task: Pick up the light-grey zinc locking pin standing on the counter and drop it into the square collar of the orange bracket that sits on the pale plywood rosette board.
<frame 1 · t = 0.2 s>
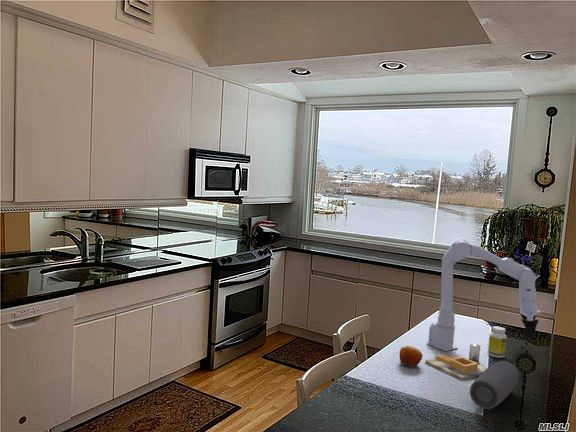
hand: (530, 334, 182), 11 cm above the table, tool pointing down, fingers open, 7 cm apart
bluetooth speaker: (493, 400, 148), on the table
fruit: (409, 365, 172), on the table
rosette board: (457, 367, 172), on the table
pill bottle: (496, 355, 188), on the table
bracket: (462, 371, 169), resting on rosette board
pin: (473, 360, 180), on the table
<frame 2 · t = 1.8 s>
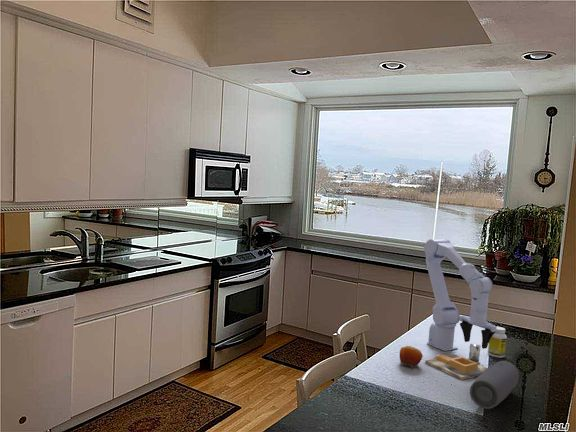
hand: (475, 344, 180), 6 cm above the table, tool pointing down, fingers open, 7 cm apart
nothing on the table moved.
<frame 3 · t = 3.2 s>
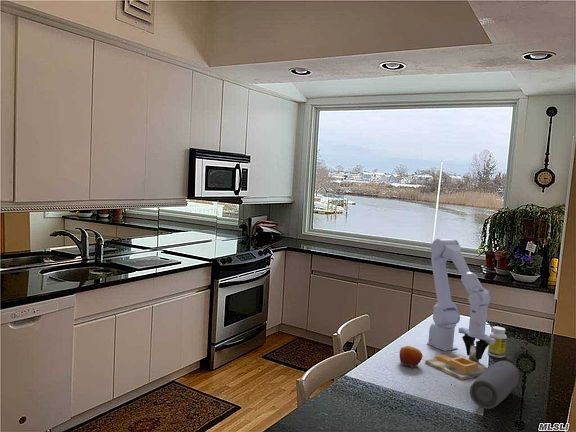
hand: (474, 356, 180), 1 cm above the table, tool pointing down, fingers closed on pin, 4 cm apart
pin: (473, 360, 180), on the table, touching gripper
everything else where it was.
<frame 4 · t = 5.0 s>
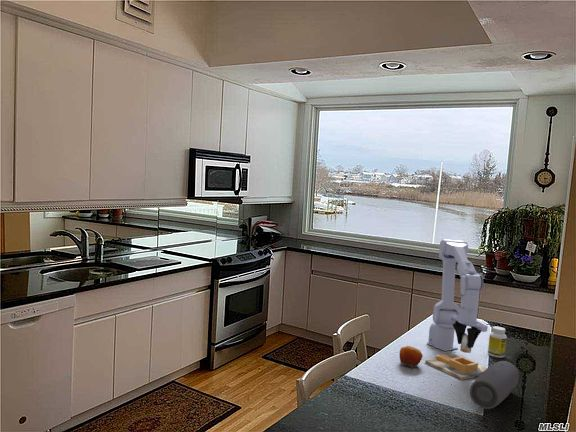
hand: (465, 345, 168), 9 cm above the table, tool pointing down, fingers closed on pin, 4 cm apart
pin: (465, 351, 169), point 7 cm above the table, touching gripper
everything else where it was.
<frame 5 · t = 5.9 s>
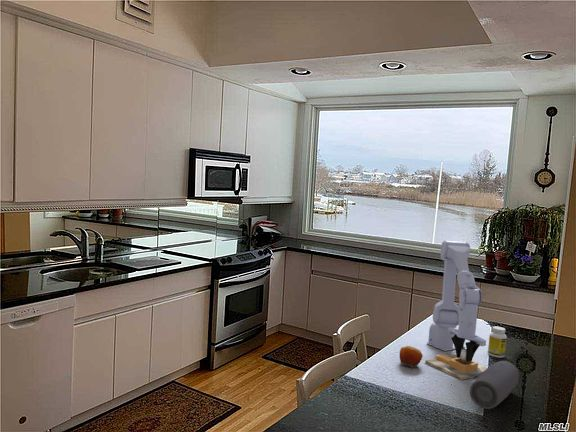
hand: (464, 359, 169), 4 cm above the table, tool pointing down, fingers closed on pin, 4 cm apart
pin: (464, 364, 169), point 2 cm above the table, touching gripper
everything else where it was.
when the fingers open (4 cm above the table, at t = 6.7 s): pin stays where it is, resting on rosette board.
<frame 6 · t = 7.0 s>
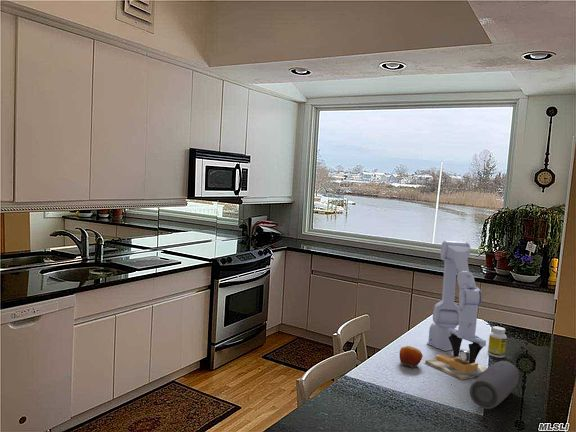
hand: (463, 359, 169), 4 cm above the table, tool pointing down, fingers open, 6 cm apart
pin: (463, 367, 169), point 1 cm above the table, touching rosette board
everything else where it was.
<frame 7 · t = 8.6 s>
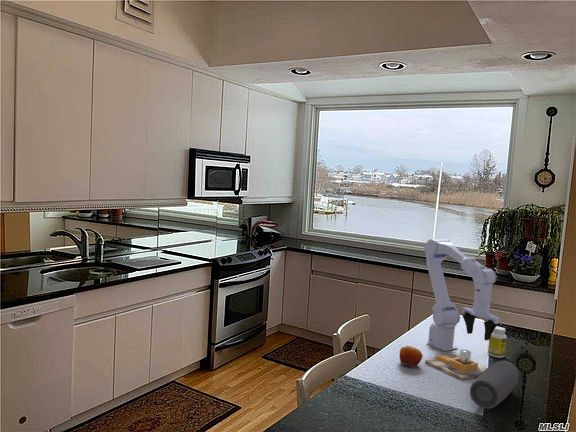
hand: (478, 336, 178), 10 cm above the table, tool pointing down, fingers open, 7 cm apart
nothing on the table moved.
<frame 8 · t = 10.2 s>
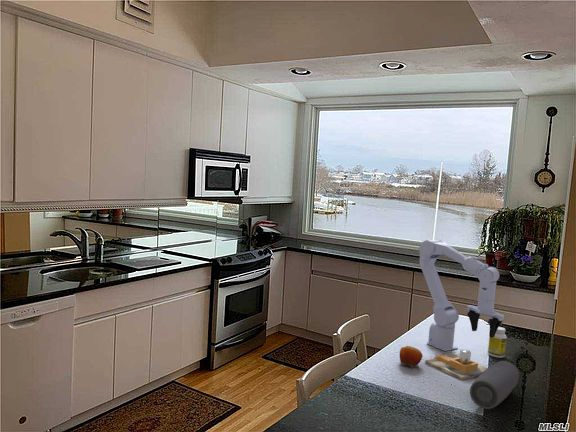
hand: (482, 333, 182), 10 cm above the table, tool pointing down, fingers open, 7 cm apart
nothing on the table moved.
at the end: pin 0.4 cm off-centre on the bracket, point 1.2 cm above the bracket's base; pin tilted 0°; the gripper is holding nothing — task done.
